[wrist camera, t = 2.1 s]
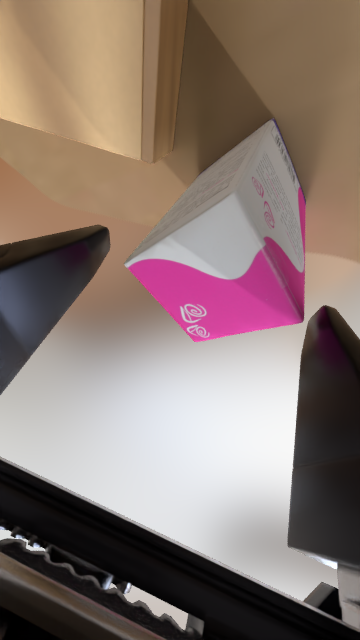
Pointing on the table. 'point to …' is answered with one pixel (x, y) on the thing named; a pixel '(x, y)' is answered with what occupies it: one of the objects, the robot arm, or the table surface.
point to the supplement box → (231, 244)
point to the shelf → (94, 71)
